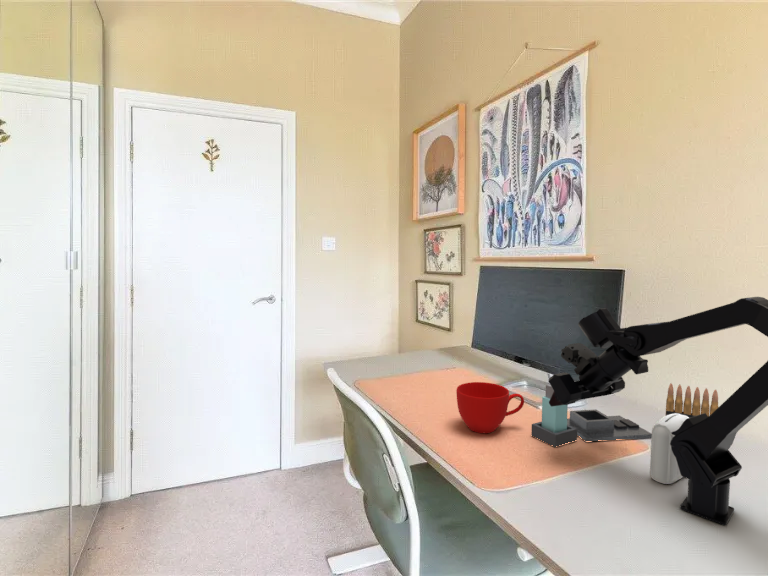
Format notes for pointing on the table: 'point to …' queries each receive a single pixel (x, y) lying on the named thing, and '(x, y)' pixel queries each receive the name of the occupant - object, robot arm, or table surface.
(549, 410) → the aqua plug
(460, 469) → the table surface
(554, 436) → the box
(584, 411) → the switch
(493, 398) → the ceramic cup
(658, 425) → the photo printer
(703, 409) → the ammunition clip
